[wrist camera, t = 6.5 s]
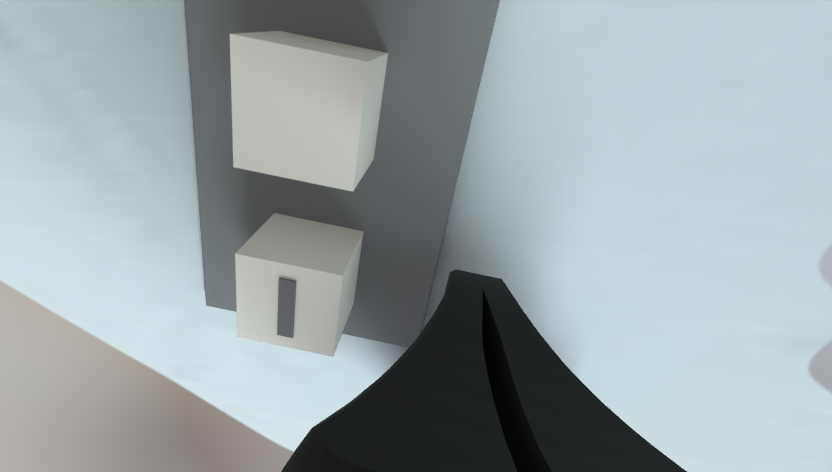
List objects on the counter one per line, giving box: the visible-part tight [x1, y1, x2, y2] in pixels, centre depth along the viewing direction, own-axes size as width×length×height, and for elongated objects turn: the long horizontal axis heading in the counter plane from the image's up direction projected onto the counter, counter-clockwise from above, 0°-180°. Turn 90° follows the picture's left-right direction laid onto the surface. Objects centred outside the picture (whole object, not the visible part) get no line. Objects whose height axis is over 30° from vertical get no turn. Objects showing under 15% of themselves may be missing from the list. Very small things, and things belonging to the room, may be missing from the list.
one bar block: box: [235, 213, 363, 356], centre depth 20 cm, size 4×4×4 cm
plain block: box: [230, 31, 388, 192], centre depth 16 cm, size 4×4×4 cm
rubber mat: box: [184, 0, 500, 347], centre depth 18 cm, size 25×12×1 cm, turn 170°
